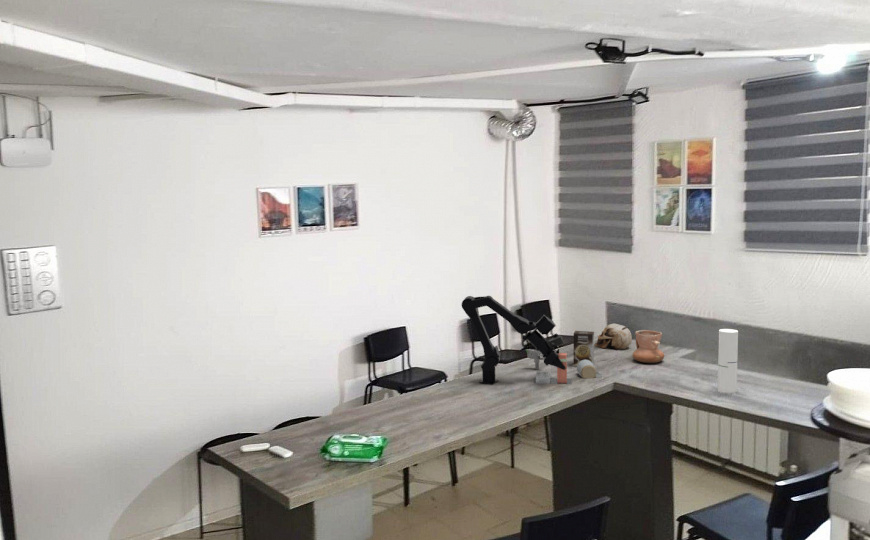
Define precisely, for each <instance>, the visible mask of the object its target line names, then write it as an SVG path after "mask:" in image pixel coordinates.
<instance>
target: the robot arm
mask: <svg viewBox="0 0 870 540" xmlns="http://www.w3.org/2000/svg"><path fill="white" fill-rule="evenodd" d="M483 307H488V308H489V309H491V310H492V311H493V312H495V313H496V314H498V316H500V317H502V318H503V319H504V320H505V321H507V322H508V323H509V324H510V325H511V326H512V328H513V329H514V330H516V332H517V333H518V334H520V335H521V337H522V343H525V342H526V341H528V342H529V343H530V344H531V345H532V346H533V347H534V348H535V350H537V351H539V352H540V353H541V354H542V355H543V356H542V358H543V357H544V360H543V363H544V364H545V366H548V365H550V366H553V367H555V368H557V367H558V368H561V369H563V370H565V369H566V367H565V366H564V364H563V363H562V362H561V360H560V359H559V353H560V349H559V347H560V346H562V345H563V344H564V342H565V341H564V338H563V337H562V335H561V334H558V333H554V334H552V335H553V337H551V338H550V339H548V338H547V337H546V338H545V337H544V335H548V334H549V333H550V332H551V331H552V330H553V329H554V328H555V327H556V326H557V325H556V324H555V322H554V321H553V320H552V319H551V318H549V317H548V316H546V315H545V314H543V315H542V316H541V318H540V319H539V320H537V322H536V321H530V320H529V319H527V318H525V317H523V316H521V315H518V314H515V313H514V312H512V311H511V310H510V309H508V308H507V307H505V306H504V305H503V304H501V303H500V302H499V301H498V300H496V299H494V298H493V297H492V295H486V296H485V295H484V296H475V297H474V296H471V295H468V296H466V297H464V299H463V300H462V302H461V308H462V310H463V311H464V313H465V314H466V315H467V317H468V318H469V319H470V321H471V323H472V325H473V327H474V329H475V332H476V335H477V337H478V339H479V341H480V344H481V346H482V348H483V355H484V360H483V361H482V364H481V365H480V367H481V370H482V371H481V372H482V374H481V375H482V379H481V380H479V383H480V384H486V385H494V384H495V383H498V382H499V379H496V366H498V365H499V363H500V360H501V354H502V353H501V352H500V350H499V347H498V345H496V346H495V345H493V343H492V341H491V339H490V337H489V335H488V332H487V329H486V326H485V325H484V323H483V321H482V319H481V316H480V313H479V308H483ZM556 349H557V350H556ZM557 353H558V354H557Z"/></svg>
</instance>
